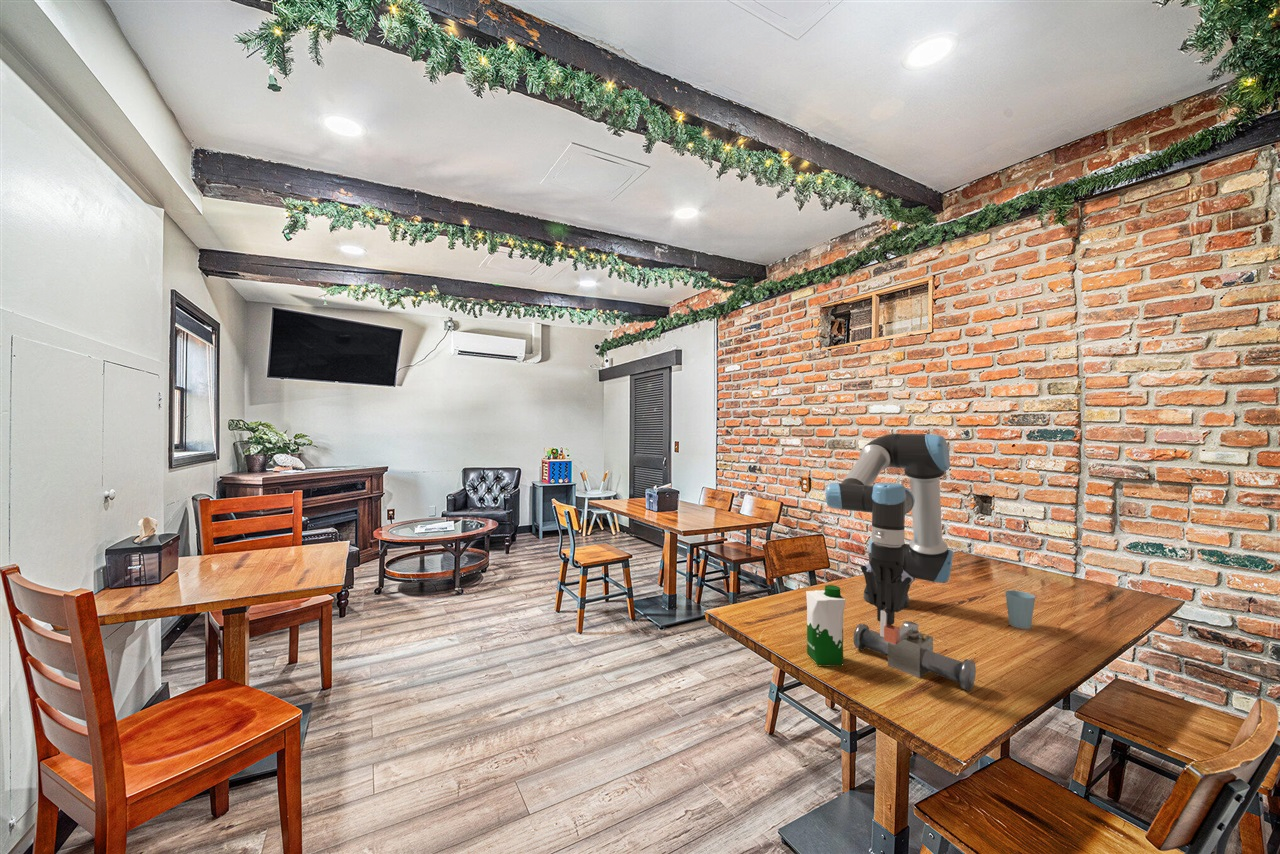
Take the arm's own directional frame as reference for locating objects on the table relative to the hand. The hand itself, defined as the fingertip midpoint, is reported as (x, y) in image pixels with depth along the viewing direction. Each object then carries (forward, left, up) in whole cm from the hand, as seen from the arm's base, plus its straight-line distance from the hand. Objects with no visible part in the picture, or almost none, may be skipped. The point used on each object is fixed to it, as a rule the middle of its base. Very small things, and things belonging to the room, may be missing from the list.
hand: (885, 635), depth 123 cm
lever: (+2, +5, -1) cm, 6 cm away
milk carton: (-15, -4, -11) cm, 19 cm away
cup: (+10, +69, -11) cm, 71 cm away
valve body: (+1, +11, -11) cm, 16 cm away
